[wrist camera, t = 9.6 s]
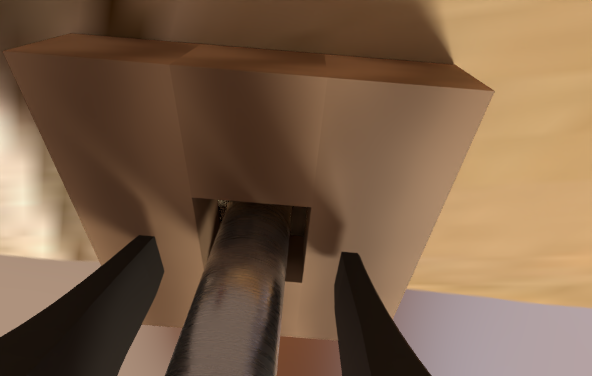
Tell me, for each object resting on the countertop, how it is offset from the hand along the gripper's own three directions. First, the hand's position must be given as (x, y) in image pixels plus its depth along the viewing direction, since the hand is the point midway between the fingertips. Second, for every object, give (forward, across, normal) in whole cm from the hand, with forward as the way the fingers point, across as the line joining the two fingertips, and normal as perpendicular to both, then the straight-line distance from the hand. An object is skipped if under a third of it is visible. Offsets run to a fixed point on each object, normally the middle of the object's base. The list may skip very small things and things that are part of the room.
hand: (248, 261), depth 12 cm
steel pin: (+4, 0, 0) cm, 4 cm away
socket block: (+4, 0, 0) cm, 4 cm away
